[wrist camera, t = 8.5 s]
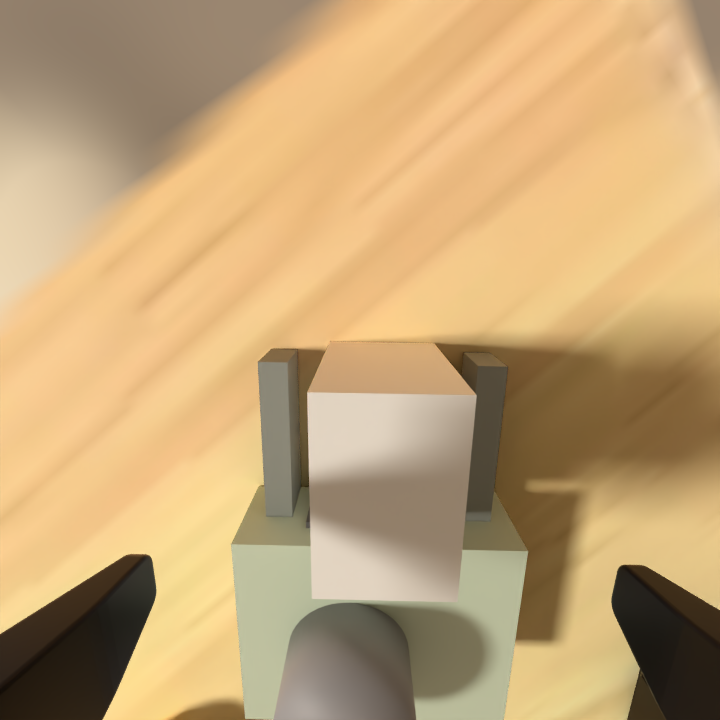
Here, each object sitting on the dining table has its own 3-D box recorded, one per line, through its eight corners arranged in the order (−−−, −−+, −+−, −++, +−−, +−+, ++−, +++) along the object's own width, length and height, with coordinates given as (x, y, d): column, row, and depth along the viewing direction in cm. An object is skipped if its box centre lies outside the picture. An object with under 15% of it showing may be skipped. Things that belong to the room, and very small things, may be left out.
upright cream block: (433, 342, 15) (476, 395, 9) (425, 481, 16) (457, 602, 11) (329, 341, 15) (307, 392, 9) (330, 479, 16) (311, 598, 11)
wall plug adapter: (510, 353, 15) (610, 417, 9) (477, 640, 18) (532, 828, 12) (250, 348, 15) (172, 408, 9) (267, 634, 18) (218, 819, 12)
